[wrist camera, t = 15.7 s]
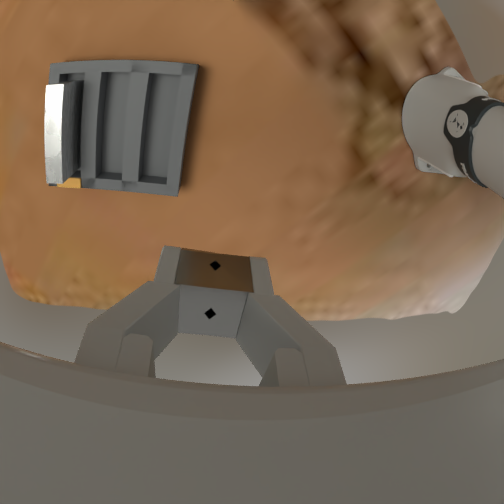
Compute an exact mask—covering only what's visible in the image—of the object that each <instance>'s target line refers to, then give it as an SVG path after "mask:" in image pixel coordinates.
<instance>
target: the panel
mask: <svg viewBox="0 0 504 504" xmlns="http://www.w3.org/2000/svg"><path fill="white" fill-rule="evenodd" d="M84 81H85V79H81V80H69V81H64V82H59V83H55V84H50V85H46V97H45V164H46V180H47V183H55V184H63V183H64V182H65V181H66V180H67V179H68V178H69V177H70V176H71V175H73V174H74V173H75V172H76V171H77V170H78V169H79V168H80V167H81V120H82V104H83V91H84Z"/></svg>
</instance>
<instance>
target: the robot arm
mask: <svg viewBox="0 0 504 504" xmlns="http://www.w3.org/2000/svg"><path fill="white" fill-rule="evenodd" d="M402 126H403V131H404V135H405V138H406V140H407V142H408V144H409V146H410V147H411V149H412V151H413V154H414V161H415V166H416V168H417V169H418V170H420V171H422V172H431V173H440V174H446V175H447V176H449V177H453V176H456V177H468V178H469V179H470V180H471V181H473V182H474V183H477V184H478V185H480V186H482V187H485V188H490V189H491V190H492V191H494V192H495V193H497V194H498V195H499V196H501V197H502V198H503V199H504V103H502V102H500V101H499V100H497V99H494V98H490V97H488V92H487V91H485V90H483V89H482V87H481V86H480V85H478V84H476V83H473V82H470V81H467V80H465V79H464V78H463V77H462V76H461V75H460V74H459V73H458V72H457V71H456V70H455V69H454V68H451V67H446V68H444V69H443V70H442V71H440V72H439V73H438V74H435V75H430V76H426V77H424V78H422V79H420V80H419V81H417V82H416V83H415V84H414V85H413V86H412V88H411V89H410V91H409V92H408V94H407V96H406V99H405V102H404V105H403V111H402ZM427 164H428V166H427ZM177 333H188V334H199V335H200V334H201V335H210V336H219V337H228V338H236V341H237V342H238V344H239V345H240V347H241V348H242V349H243V351H244V352H245V354H246V355H247V357H248V358H249V359H250V361H251V362H252V364H253V365H254V366H255V368H256V369H257V371H258V372H259V373H260V375H261V376H262V380H261V382H260V384H259V386H234V385H218V384H204V383H194V382H183V381H175V380H166V379H159V378H156V376H155V362H154V360H155V359H156V358H157V357H158V356H159V354H160V353H161V352H162V351H163V350H164V349H165V348H166V347H167V345H168V344H169V343H170V342H171V341H172V340H173V339H174V338H175V336H176V335H177ZM0 504H504V359H502V360H498V361H494V362H490V363H487V364H483V365H478V366H474V367H469V368H465V369H460V370H455V371H450V372H445V373H439V374H433V375H427V376H421V377H414V378H407V379H400V380H391V381H383V382H374V383H363V384H362V383H361V384H349V385H347V384H346V381H345V377H344V374H343V371H342V367H341V364H340V361H339V358H338V354H337V351H336V348H335V347H334V346H333V345H332V344H331V343H329V342H328V341H327V340H326V339H325V338H324V337H323V336H322V335H321V334H320V333H319V332H318V331H316V330H315V329H314V328H313V327H312V326H311V325H310V324H309V323H308V322H307V321H306V320H305V319H304V318H303V317H301V316H300V315H299V314H298V313H297V312H296V311H295V310H294V309H293V308H292V307H291V306H290V305H289V304H288V303H286V302H285V301H284V300H283V299H282V298H281V297H280V296H278V295H274V291H273V286H272V281H271V276H270V271H269V266H268V262H267V259H266V258H261V257H250V256H249V257H246V256H237V255H228V254H219V253H214V252H207V251H201V250H194V249H187V248H182V249H181V248H180V247H172V246H164V247H163V248H162V252H161V255H160V259H159V263H158V266H157V270H156V274H155V278H154V282H153V281H148V282H146V283H145V284H143V285H142V286H140V287H139V288H138V289H136V290H135V291H133V292H132V293H131V294H129V295H128V296H126V297H125V298H124V299H122V300H121V301H119V302H118V303H116V304H115V305H114V306H112V307H111V308H110V309H108V310H107V311H105V312H104V313H103V314H101V315H100V316H99V317H97V318H96V319H94V320H93V321H92V322H90V323H89V324H88V326H87V328H86V331H85V333H84V336H83V339H82V342H81V345H80V347H79V350H78V353H77V356H76V360H75V362H74V363H72V362H68V361H64V360H60V359H56V358H52V357H47V356H44V355H41V354H37V353H34V352H31V351H27V350H24V349H21V348H17V347H14V346H11V345H8V344H5V343H2V342H0Z"/></svg>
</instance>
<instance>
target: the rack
mask: <svg viewBox="0 0 504 504" xmlns="http://www.w3.org/2000/svg"><path fill="white" fill-rule="evenodd" d="M198 68H199V65H198V64H188V63H178V62H165V61H146V60H93V61H75V62H62V63H52V64H50V73H49V85H50V84H55V83H59V82H64V81H69V80H81V79H85V81H84V91H83V104H82V120H81V167H80V168H79V169H78V170H77V171H76V172H75V173H74V174H73V175H71V176H70V177H69V178H68V179H67V180H66V181H65V182H64V183H63V184H55V183H49V186H57V187H69V188H92V189H104V190H116V191H128V192H138V193H149V194H159V195H168V196H177V197H178V193H179V189H180V185H181V176H182V168H183V160H184V153H185V145H186V138H187V132H188V125H189V119H190V112H191V106H192V100H193V95H194V89H195V84H196V78H197V73H198Z"/></svg>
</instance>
